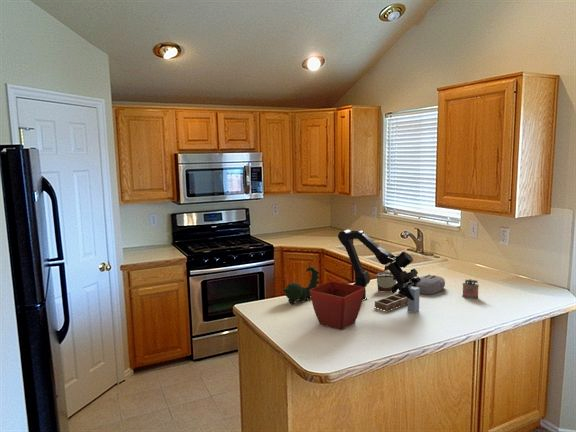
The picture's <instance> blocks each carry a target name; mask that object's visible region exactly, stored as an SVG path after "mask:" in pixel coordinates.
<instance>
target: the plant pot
mask: <svg viewBox="0 0 576 432" xmlns="http://www.w3.org/2000/svg"><path fill="white" fill-rule="evenodd" d="M364 289H365V290H366V287H361V286H356V285H353V284H352V283H345V282H340V281H334V280H331V281H327V282H325V283H323V284H320V285H317V287H315V288H313V289H310V295H311V296H310V297H311V300H310V301H311V305H312V307H313V308H312V309H314V310H313V311H314V314H315V316H316V318H317V322H318V323H320V325H322V324H323V326H326V325H327V327H329V326H330V328H332V329H337V330H344V329H345V328H348V327H349V326H351V325H353V324H354V323H355V322H356V321H357V318H358V316H359V314H360V309H361V307H362V303H363V301H364V300H363V295H364ZM362 300H363V301H362ZM352 323H353V324H352ZM347 326H348V327H347Z"/></svg>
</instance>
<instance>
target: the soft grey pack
mask: <svg viewBox="0 0 576 432" xmlns="http://www.w3.org/2000/svg"><path fill="white" fill-rule="evenodd" d="M419 278H420V279H421V281H419V282H418V283H417V285H416V287H418V288H420V291H419V294H424V295H433V294H437V293H439V292H441V291H442V290H443V289H444V288H445V286H446V282H445V281H446V280H445V279H444V277H442V276H438V275H433V274H432V275H431V274H428V275H423V276H419Z"/></svg>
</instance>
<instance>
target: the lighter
mask: <svg viewBox="0 0 576 432" xmlns="http://www.w3.org/2000/svg"><path fill="white" fill-rule="evenodd" d="M478 281H479V280H476V279H471V278H470V279H465V281H464V282H463V283H462V294H461V295H462V296H461V297H462V298H467V299H474V300H478V299H479V286H480V285H479V284H478Z"/></svg>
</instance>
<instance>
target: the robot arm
mask: <svg viewBox="0 0 576 432" xmlns="http://www.w3.org/2000/svg"><path fill="white" fill-rule="evenodd" d="M337 239H338V240H339V242H340V244H342V246H343V247H344V248H345V250H346V253H347V256H348V259H349V261H350V263H351V266H352V268H353V271H354V280H355V281H354V283H352V285H356V286H361V287H365V289H364V295H363V299H365V298H366V300H368V299H367V298H368V297H366V296H367V295H366V294H367V293H366V291H367V290H366V287H367V285H369V283H370V282H371V276H370V273H369V271H368V270H365V269H364V268H363V266H362V263H361V260H360V257H359V255H358V253H357V250H356V248H355V245H354V240H358V241H360V242H361V243H362V244H363V245H364V246H365V247H366V248H367V249H369V250H370V252H372V253H373V254H374V256H375V259H377V261H378V262H379V263H380V264H381V265H382V266H383V265H384V269H383V270H384V271H383V272H388V271H389V273H391V274H392V275H393V277H394V278H393V280H396V284H395V285H394V286H393V287H391V291H392V292H391V293H392V294H396V293H400V294H402V295H404V296H406V297H407V298H409V299H411V300H412V301H413V300H414V298H413V296H412V294H411V293H410V291H409V289H408V288H409V287H412V286H414V287H416V285H417V283H418V282H419V281H421V279H420V276H418V273H419V272H418V271H417V269H416V268H412V269H410V271H408V272H407V271H405V270H403V269H402V268H404V269H405V268H406V267H407V266H409V265H411V263H412V262H414V259H413V257H412V256H411V255H410V254H409V253H408V252H406V250H405V251H404V250H402V251H401V253H400V254H398V255H395V254H392V253H391V252H390V251H388V250H387V249H385V248H382V247H381V246H380V245H378V244H377V243H376V242H375V241H374V240H372V239H371V237H370V236H368V235H367V234H366V233H365V232H364V230H350V229H343V230H341V231H339V233H338V235H337Z"/></svg>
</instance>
